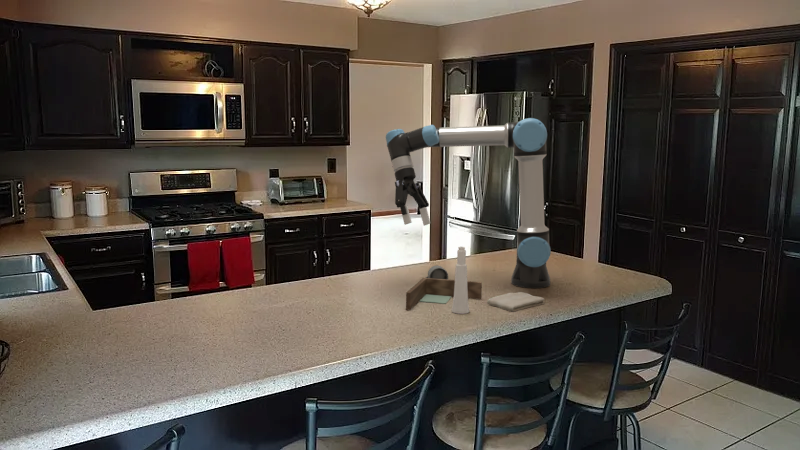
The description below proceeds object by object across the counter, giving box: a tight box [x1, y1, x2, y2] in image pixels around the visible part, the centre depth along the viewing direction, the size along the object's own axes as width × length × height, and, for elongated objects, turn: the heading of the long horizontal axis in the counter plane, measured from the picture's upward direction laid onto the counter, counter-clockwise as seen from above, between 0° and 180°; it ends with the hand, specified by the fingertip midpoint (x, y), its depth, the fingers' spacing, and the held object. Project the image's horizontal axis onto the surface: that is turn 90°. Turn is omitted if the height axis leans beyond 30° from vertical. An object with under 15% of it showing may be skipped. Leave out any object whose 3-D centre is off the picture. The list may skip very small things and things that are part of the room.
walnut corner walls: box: [405, 277, 483, 311], centre depth 214 cm, size 22×22×6 cm
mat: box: [418, 294, 453, 305], centre depth 220 cm, size 10×10×1 cm
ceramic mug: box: [424, 265, 449, 280], centre depth 241 cm, size 11×8×8 cm
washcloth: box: [487, 291, 545, 313], centre depth 215 cm, size 12×18×3 cm, turn 129°
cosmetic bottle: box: [451, 246, 470, 315], centre depth 204 cm, size 6×6×22 cm
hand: (417, 224), depth 225 cm, fingers open, 13 cm apart
